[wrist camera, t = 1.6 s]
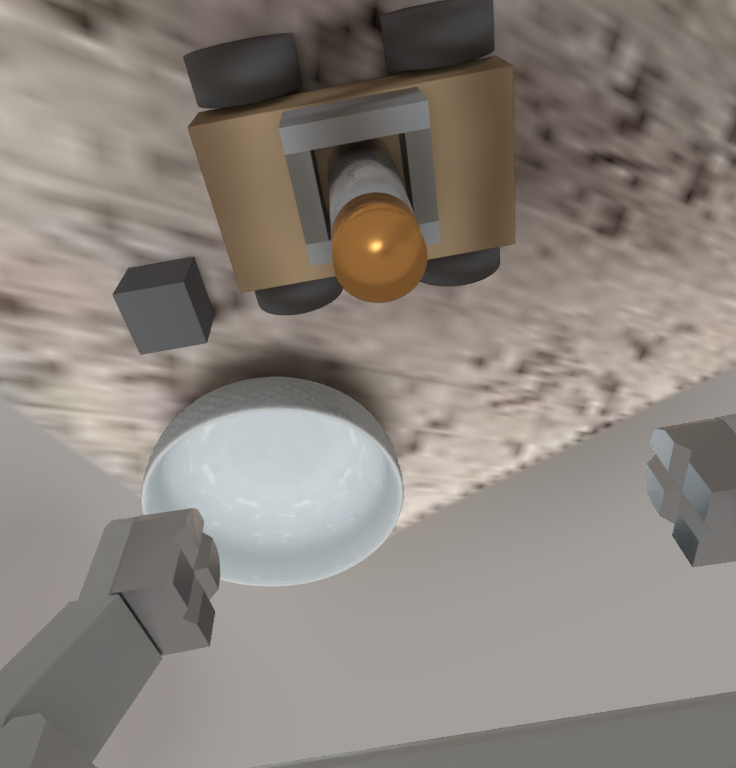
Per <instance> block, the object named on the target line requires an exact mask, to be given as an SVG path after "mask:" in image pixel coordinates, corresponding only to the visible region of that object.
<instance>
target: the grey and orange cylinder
mask: <svg viewBox="0 0 736 768" xmlns="http://www.w3.org/2000/svg"><path fill="white" fill-rule="evenodd" d="M327 172H328V189H329V206H330V223H331V240H332V257H333V268H334V272H335V275H336V277H337V279H338V281H339V283H340V284H341V285H342V287H343V288H344V289H345V290H346V291H347V292H348V293H350V294H351V295H353V296H354V297H356V298H358V299H361V300H363V301H367V302H374V303H382V302H389V301H393V300H396V299H398V298H400V297H402V296H404V295H406V294H407V293H409V292H410V291H411V290H412V289H413V288H414V287H415V286H416V285H417V284H418V283H419V281H420V280H421V278H422V276H423V275H424V272H425V269H426V266H427V259H428V254H427V247H426V243H425V240H424V238H423V235H422V233H421V230H420V228H419V225H418V222H417V220H416V217H415V215H414V212H413V209H412V207H411V204H410V202H409V199H408V197H407V194H406V191H405V189H404V186H403V184H402V181H401V178H400V176H399V173H398V171H397V168H396V166H395V163H394V160H393V158H392V155H391V153H390V151H389V149H388V148H387V146H386V145H385V144H384V143H383V142H382V141H381V140H380V139H378V138H374V139H368V140H363V141H357V142H352V143H347V144H341V145H336V146H335V147H334V148H333V149H332V151H331V153H330V156H329V159H328V165H327Z"/></svg>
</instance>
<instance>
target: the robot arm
mask: <svg viewBox="0 0 736 768" xmlns="http://www.w3.org/2000/svg"><path fill="white" fill-rule="evenodd" d="M650 446H651V447H652V449H653V450H654V452H655V453H656V455H655V456H654V457H653V458H652V459H651V460H650V461H649V462H648V463H647V467H646V475H645V480H646V485H647V491H648V494H649V497H650V499H651V502H652V504H653V506H654V507H655V509H656V510H657V512H658V514H659V515H660V516H661V517H663V518H665V519H667V520H669V521H670V522H672V523H674V524H675V525H674V530H673V534H672V536H673V538H674V539H675V541H676V542H677V544H678V545H679V547H680V549H681V550H682V552H683V553H684V555H685V556H686V558H687V559H688V561H689V562H690V564H691V566H692V567H697V566H704V565H711V564H719V563H726V562H733V561H736V414H732V415H727V416H721V417H716V418H714V419H705V420H700V421H694V422H688V423H683V424H678V425H672V426H666V427H661V428H656V430H655V431H654V432H653V434H652V438H651V443H650ZM203 526H204V520H203V518H202V516H201V514H200V512H199V510H198V509H195V508H189V509H183V510H176V511H169V512H162V513H155V514H148V515H142V516H139V517H132V518H125V519H118V520H112V521H111V522H110V523H109V524H108V525H107V526H106V527H105V529H104V532H103V534H102V537H101V540H100V543H99V546H98V548H97V551H96V553H95V556H94V559H93V561H92V564H91V567H90V569H89V572H88V575H87V577H86V580H85V583H84V586H83V588H82V591H81V594H80V596H79V599H78V601H73V602H69V603H68V604H67V605H66V606H65V607H64V608H63V609H62V610H61V611H60V612H59V613H58V614H57V615H56V616H55V617H54V618H53V619H52V620H51V621H50V622H49V623H48V624H47V625H46V626H45V627H44V628H43V629H42V630H41V631H40V632H39V633H38V634H37V635H36V636H35V637H34V638H33V639H32V640H31V641H30V642H29V643H28V644H27V645H26V646H25V647H24V648H23V649H22V650H21V651H20V652H19V653H17V654H16V656H14V657H13V658H12V659H11V660H10V661H9V662H8V663H7V664H6V665H5V666H4V667H3V668H2V669H1V670H0V768H97V767H96V766H95V765H94V764H93V763H92V762H93V760H94V759H95V757H96V756H97V754H98V753H99V751H100V750H101V748H102V747H103V745H104V744H105V743H106V741H107V740H108V738H109V737H110V735H111V734H112V732H113V731H114V729H115V728H116V726H117V725H118V723H119V722H120V720H121V719H122V717H123V716H124V715H125V713H126V711H127V710H128V709H129V707H130V706H131V704H132V703H133V701H134V700H135V698H136V697H137V695H138V694H139V692H140V691H141V689H142V688H143V686H144V685H145V683H146V682H147V680H148V679H149V677H150V676H151V675H152V673H153V672H154V670H155V669H156V667H157V666H158V664H159V663H160V661H161V660H162V655H167V654H173V653H178V652H183V651H188V650H193V649H198V648H204V647H209V646H210V642H211V635H212V629H213V622H214V616H215V610H214V608H213V606H212V604H211V603H210V601H209V600H210V599H211V597H212V596H213V595H214V594H215V593H216V591H217V590H218V589H219V581H220V559H219V555H218V551H217V547H216V545H215V542H214V540H213V538H212V537H210V536H209V535H207V534H205V533H203ZM252 768H736V691H734V692H728V693H721V694H715V695H708V696H703V697H696V698H689V699H683V700H677V701H671V702H664V703H658V704H651V705H645V706H639V707H632V708H626V709H619V710H613V711H607V712H600V713H594V714H588V715H581V716H575V717H568V718H562V719H556V720H549V721H543V722H537V723H530V724H524V725H517V726H511V727H505V728H499V729H493V730H486V731H480V732H473V733H467V734H461V735H454V736H448V737H442V738H435V739H429V740H423V741H416V742H410V743H404V744H398V745H391V746H385V747H379V748H372V749H366V750H360V751H353V752H347V753H341V754H334V755H328V756H322V757H315V758H309V759H303V760H296V761H290V762H284V763H278V764H271V765H265V766H259V767H252Z"/></svg>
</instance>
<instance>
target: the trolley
mask: <svg viewBox="0 0 736 768" xmlns="http://www.w3.org/2000/svg"><path fill="white" fill-rule="evenodd" d="M380 21H381V29H382V37H383V45H384V53H385V61H386V68H388V69H390V70H419V71H414V72H409V73H404V74H398V75H393V76H388V77H382V78H377V79H372V80H367V81H361V82H356V83H351V84H346V85H340V86H335V87H330V88H325V89H319V90H314V91H309V92H304V93H298V94H293V95H288V96H283V97H277V98H273V97H276V96H280V95H283V94H285V93H288V92H291V91H293V90H295V89H297V88H299V87H300V86H301V85H302V79H301V74H300V70H299V65H298V60H297V55H296V50H295V45H294V40H293V35H292V34H289V33H284V34H273V35H265V36H259V37H253V38H248V39H242V40H237V41H233V42H228V43H224V44H219V45H215V46H211V47H208V48H204V49H200V50H197V51H194V52H191V53H189V54H186V55H185V56H183V58H184V62H185V65H186V68H187V72H188V75H189V78H190V81H191V85H192V88H193V91H194V94H195V98H196V101H197V104H198V106H199V107H201V108H219V109H214V110H209V111H204V112H199V113H198V114H197V115H196V117H195V118H194V119H193V121H192V122H191V123H190V125H189V126H188V130H189V133H190V137H191V140H192V143H193V146H194V149H195V152H196V155H197V158H198V161H199V164H200V168H201V171H202V174H203V177H204V180H205V183H206V186H207V189H208V192H209V196H210V199H211V202H212V205H213V208H214V211H215V214H216V217H217V220H218V223H219V227H220V230H221V233H222V236H223V239H224V242H225V245H226V248H227V251H228V255H229V258H230V261H231V264H232V267H233V270H234V273H235V276H236V279H237V282H238V286H239V289H240V292H241V293H244V292H249V291H255V294H256V297H257V301H258V304H259V306H260V308H261V309H262V310H264V311H265V312H268V313H271V314H275V315H296V314H302V313H306V312H310V311H313V310H316V309H319V308H321V307H323V306H325V305H327V304H329V303H331V302H332V301H333V300H335V299H336V298H337V297H338V296H339V295H340V294H341V292H342V290H343V287H342V285H341V284H340V283H339V281H338V279H337V277H336V275H335V272H334V268H333V257H332V240H331V223H330V206H329V189H328V172H327V165H328V159H329V156H330V153H331V151H332V149H333V148H334V147H335V146H336V145H341V144H347V143H352V142H357V141H363V140H368V139H374V138H378V139H380V140H381V141H382V142H383V143H384V144H385V145H386V146H387V148H388V149H389V151H390V153H391V155H392V158H393V160H394V163H395V166H396V168H397V171H398V173H399V176H400V178H401V181H402V184H403V186H404V189H405V191H406V194H407V197H408V199H409V202H410V204H411V207H412V209H413V212H414V215H415V217H416V220H417V222H418V225H419V228H420V230H421V233H422V235H423V238H424V240H425V243H426V247H427V254H428V259H427V266H426V269H425V272H424V275H423V276H422V278H421V280H420V281H421V282H423V283H426V284H429V285H435V286H460V285H466V284H471V283H474V282H477V281H480V280H483V279H485V278H487V277H489V276H490V275H492V274H493V273H494V272H495V271H496V270H497V269H498V267H499V265H500V247H501V246H506V245H512V244H515V183H514V82H513V65H511V64H509V63H508V62H506V61H504V60H502V59H500V58H498V57H497V56H493V57H488V58H482V59H477V58H480V57H483V56H486V55H488V54H490V53H491V52H493V51H494V19H493V0H445V1H439V2H433V3H428V4H423V5H418V6H413V7H409V8H405V9H401V10H397V11H393V12H390V13H387V14H384V15H382V16H381V17H380ZM474 59H477V60H474ZM470 60H472V61H470ZM420 69H425V70H420ZM269 98H272V99H269ZM266 99H267V100H266ZM222 107H225V108H222Z"/></svg>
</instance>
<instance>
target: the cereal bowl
mask: <svg viewBox="0 0 736 768" xmlns="http://www.w3.org/2000/svg"><path fill="white" fill-rule="evenodd" d="M403 498H404V486H403V480H402V474H401V471H400V466H399V464H398V460H397V456H396V454H395V452H394V449H393V446H392V444H391V442H390V440H389V438H388V436H387V435H386V433H385V431H384V429H383V428H382V426H381V425H380V424H379V422H378V421H377V420H376V419H375V418H374V417H373V416H372V414H371V413H370V412H369V411H368V410H366V409H365V408H364V407H363V406H362V405H361V404H359V403H358V402H357V401H355V400H354V399H352V398H351V397H350V396H347V395H346V394H344V393H342V392H340V391H338V390H336V389H333V388H331V387H329V386H326V385H323V384H319V383H317V382H313V381H309V380H304V379H297V378H290V377H282V376H281V377H274V376H272V377H263V378H254V379H248V380H242V381H239V382H235V383H232V384H228V385H226V386H223V387H220V388H218V389H215V390H214V391H212V392H209V393H207V394H205V395H203V396H202V397H200V398H198V399H197V400H195V401H194V402H193V403H192V404H190V405H188V406H187V407H186V408H185V409H184V410H183V411H182V412H181V413H179V414H178V415H177V417H176V418H175V419H174V420H173V421H172V422H171V423H170V425H169V426H168V427H167V428H166V430H165V431H164V433H163V435H162V436H161V437H160V439H159V441H158V443H157V445H156V446H155V447H154V450H153V454H152V455H151V457H150V460H149V464H148V465H147V468H146V473H145V476H144V479H143V486H142V491H141V505H142V511H143V515H148V514H155V513H162V512H169V511H176V510H183V509H189V508H195V509H198V510H199V512H200V514H201V516H202V518H203V520H204V526H203V533H205V534H207V535H209V536H210V537H212V538H213V540H214V542H215V545H216V547H217V551H218V555H219V559H220V580H224V581H228V582H232V583H238V584H245V585H253V586H289V585H297V584H303V583H309V582H313V581H317V580H321V579H324V578H327V577H330V576H333V575H335V574H338V573H340V572H342V571H345V570H347V569H349V568H351V567H352V566H354V565H356V564H358V563H359V562H361V561H362V560H364V559H365V558H366V557H368V556H369V555H371V554H372V553H373V552H374V551H375V550H376V549H377V548H378V547H379V546H380V545H381V544H382V543H383V542H384V541H385V540H386V538H387V537H388V536H389V534H390V533H391V531H392V530H393V528H394V526H395V524H396V523H397V520H398V518H399V515H400V512H401V509H402V504H403Z"/></svg>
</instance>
